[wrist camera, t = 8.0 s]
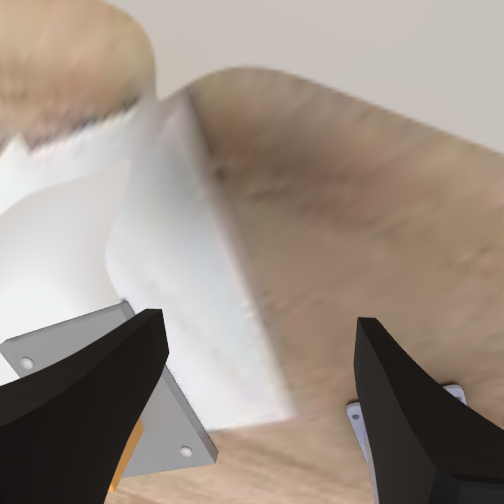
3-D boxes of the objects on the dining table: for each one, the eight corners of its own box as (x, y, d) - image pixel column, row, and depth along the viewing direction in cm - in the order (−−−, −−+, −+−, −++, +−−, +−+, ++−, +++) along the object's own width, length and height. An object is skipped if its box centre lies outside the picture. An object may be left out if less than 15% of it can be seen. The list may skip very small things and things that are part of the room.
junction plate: (218, 452, 31) (204, 507, 27) (107, 470, 34) (80, 521, 30) (127, 301, 26) (92, 340, 22) (6, 339, 29) (-44, 379, 25)
